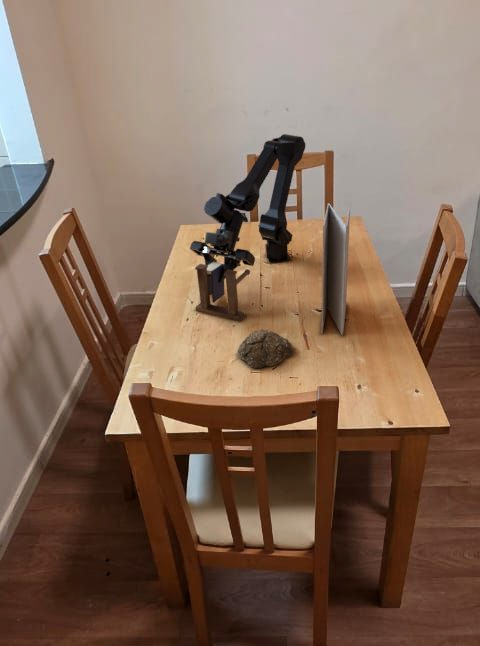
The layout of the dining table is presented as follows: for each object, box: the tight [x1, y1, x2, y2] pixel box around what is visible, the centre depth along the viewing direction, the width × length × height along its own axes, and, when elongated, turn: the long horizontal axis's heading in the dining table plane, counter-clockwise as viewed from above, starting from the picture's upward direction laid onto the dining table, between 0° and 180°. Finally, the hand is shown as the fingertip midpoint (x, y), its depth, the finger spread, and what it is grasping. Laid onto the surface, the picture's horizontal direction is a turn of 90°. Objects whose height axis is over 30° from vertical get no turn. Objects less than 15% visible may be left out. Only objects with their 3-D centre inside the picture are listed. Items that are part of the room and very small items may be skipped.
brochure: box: [320, 202, 351, 336], centre depth 141 cm, size 14×6×30 cm, turn 168°
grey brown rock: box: [237, 328, 293, 369], centre depth 136 cm, size 13×12×5 cm
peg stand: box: [194, 263, 251, 322], centre depth 154 cm, size 11×14×14 cm
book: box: [207, 261, 226, 304], centre depth 157 cm, size 6×4×10 cm, turn 151°
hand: (213, 281), depth 157 cm, fingers closed on book, 4 cm apart
